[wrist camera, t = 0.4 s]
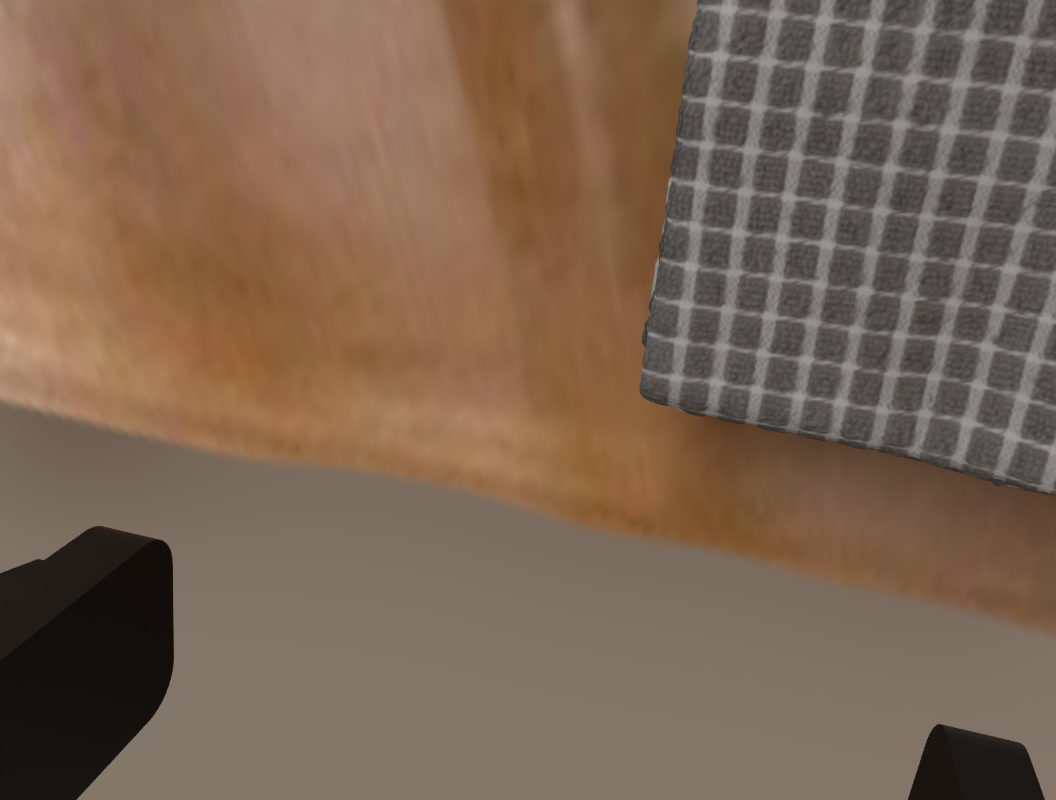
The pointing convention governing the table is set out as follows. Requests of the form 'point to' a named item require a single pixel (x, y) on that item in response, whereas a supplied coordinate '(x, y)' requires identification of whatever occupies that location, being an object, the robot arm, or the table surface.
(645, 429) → the table surface
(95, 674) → the robot arm
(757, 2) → the towel
